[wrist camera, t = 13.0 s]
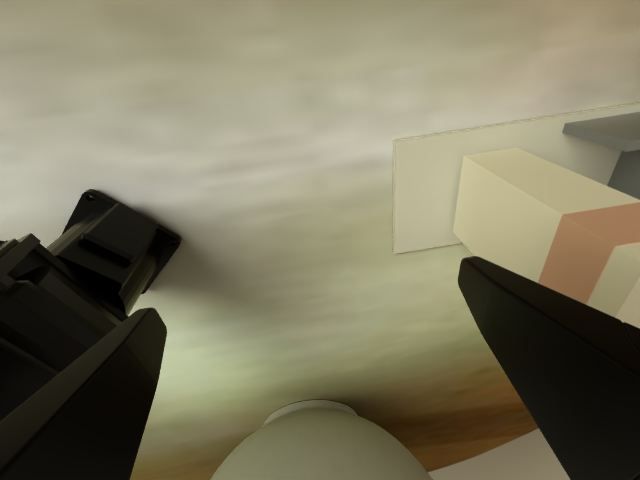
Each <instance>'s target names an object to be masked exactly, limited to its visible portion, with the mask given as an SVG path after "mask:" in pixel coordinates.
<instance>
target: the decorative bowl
mask: <svg viewBox="0 0 640 480" xmlns="http://www.w3.org/2000/svg"><path fill="white" fill-rule="evenodd" d="M210 480H432V478H431V477H430V475H429V474H428V473H427V471H426V470H425V469H424V468H423V466H422V465H421V464H420V463H419V461H418V460H417V459H416V458H415V457H414V456H413V455H412V454H411V453H410V452H409V451H408V450H407V449H406V448H405V447H404V446H403V445H402V444H401V443H400V442H399V441H398V440H397V439H396V438H394V437H393V436H392V435H391V434H389V433H388V432H387V431H385V430H384V429H383V428H381V427H379V426H378V425H376V424H374V423H373V422H371V421H369V420H367V419H364V418H362V417H359V416H357V414H356V412H355V411H354V410H353V409H352V408H350V407H349V406H347V405H345V404H342V403H339V402H335V401H329V400H308V401H302V402H297V403H293V404H290V405H287V406H285V407H283V408H281V409H279V410H277V411H275V412H274V413H272V414H271V415H270V416H269V417H268V418H267V419H266V420H265V422H264V424H263V427H261V428H259V429H258V430H256V431H255V432H253V433H252V434H251V435H249V436H248V437H247V438H246V439H245V440H243V441H242V442H241V443H240V444H239V445H238V446H237V447H236V448H235V449H234V450H233V451H232V452H231V453H230V454H229V455H228V457H227V458H226V459H225V460H224V461H223V463H222V464H221V465H220V466H219V468H218V469H217V470H216V472H215V473H214V475H213V476H212V477H211V479H210Z"/></svg>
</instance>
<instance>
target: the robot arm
mask: <svg viewBox="0 0 640 480" xmlns="http://www.w3.org/2000/svg"><path fill="white" fill-rule="evenodd" d="M90 195H91V196H93V197H94V198H95V200H93V199H92V198H90ZM171 240H175V241H176V242H175V243H174V242H172V241H171ZM40 242H41V241H40V240H39V239H38V238H36V237H35V236H34V235H33V234H31V233H30V234H28V235H26V236H24V237H22V238H21V239H19V240H16V239H12V240H10V241H0V480H130V477H131V473H132V470H133V466H134V463H135V460H136V456H137V453H138V449H139V446H140V443H141V439H142V436H143V432H144V429H145V426H146V422H147V419H148V415H149V412H150V409H151V405H152V402H153V399H154V395H155V392H156V388H157V384H158V379H159V374H160V369H161V363H162V358H163V352H164V347H165V341H166V336H167V329H166V326H165V324H164V322H163V321H162V319H161V317H160V316H159V314H158V312H157V311H156V309H154V308H144V309H139V310H137V311H136V312H134V313H133V314H132V315H131V316H128V315H129V313H130V311H131V310H132V308H133V306H134V304H135V303H136V301H137V299H138V298H139V296H140V294H144V293H145V292H146V291H147V289H148V288H149V287H150V285H151V284H152V283H153V281H154V280H155V278H156V277H157V276H158V274H159V273H160V272H161V270H162V269H163V268H164V266H165V265H166V263H167V262H168V261H169V259H170V258H171V257H172V255H173V254H174V252H175V251H176V250H177V248H178V247H179V245H180V244H181V238H180V236H178V235H177V234H175V233H173V232H171V231H169V230H168V229H166V228H164V227H162V226H160V225H159V224H157V223H156V222H154V221H152V220H150V219H148V218H147V217H145V216H143V215H141V214H139V213H138V212H136V211H134V210H132V209H130V208H128V207H127V206H125V205H123V204H120V203H118V202H117V201H115V200H113V199H111V198H109V197H107V196H106V195H104V194H102V193H100V192H98V191H96V190H94V189H89V190H87V191H86V192H84V193H83V194H82V196H81V198H80V200H79V202H78V204H77V206H76V208H75V209H74V211H73V213H72V215H71V217H70V219H69V221H68V223H67V225H66V227H65V229H64V231H63V233H62V235H61V236H60V237H59V238H58V239H57V240H55V241H54V242H53V243H52V244H51V245H49V246H48V247H47V248H45V247H44V246H42V245H41V244H40ZM458 285H459V288H460V290H461V292H462V294H463V296H464V298H465V300H466V303H467V305H468V307H469V309H470V311H471V313H472V315H473V318H474V320H475V322H476V324H477V326H478V328H479V330H480V332H481V334H482V335H483V337H484V339H485V341H486V342H487V344H488V345H489V347H490V349H491V350H492V352H493V354H494V355H495V357H496V359H497V360H498V362H499V363H500V365H501V367H502V368H503V370H504V372H505V373H506V375H507V377H508V378H509V380H510V381H511V383H512V385H513V386H514V388H515V390H516V391H517V393H518V395H519V396H520V398H521V399H522V401H523V403H524V404H525V406H526V408H527V409H528V411H529V412H530V414H531V416H532V417H533V419H534V421H535V422H536V424H537V426H538V427H539V429H540V430H541V432H542V434H543V435H544V437H545V439H546V440H547V442H548V444H549V445H550V447H551V448H552V450H553V452H554V453H555V455H556V457H557V458H558V460H559V462H560V463H561V465H562V466H563V468H564V470H565V471H566V473H567V475H568V476H569V478H570V480H640V328H637V327H635V326H633V325H631V324H629V323H626V322H623V323H622V321H621V320H619V319H617V318H615V317H613V316H610V315H608V314H606V313H604V312H602V311H599V310H597V309H595V308H593V307H590V306H588V305H586V304H584V303H581V302H579V301H577V300H575V299H573V298H570V297H568V296H566V295H564V294H561V293H559V292H557V291H555V290H552V289H550V288H548V287H546V286H543V285H541V284H539V283H537V282H535V281H532V280H530V279H528V278H526V277H523V276H521V275H519V274H517V273H514V272H512V271H510V270H508V269H506V268H503V267H501V266H499V265H497V264H494V263H492V262H490V261H488V260H485V259H483V258H481V257H478V256H472V257H466V258H463V259H462V260H461V264H460V270H459V276H458Z"/></svg>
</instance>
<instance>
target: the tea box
mask: <svg viewBox="0 0 640 480" xmlns="http://www.w3.org/2000/svg"><path fill="white" fill-rule="evenodd" d="M453 233H454V234H455V235H456V236H457V237H458V238H459V239H460V241H461V242H462V243H463V244H464V245H465V246H466V247H467V248H468V249H469V250H470V251H471V253H472V254H473V255H474V256H478V257H481V258H483V259H485V260H488V261H490V262H492V263H494V264H497V265H499V266H501V267H503V268H506V269H508V270H510V271H512V272H514V273H517V274H519V275H521V276H523V277H526V278H528V279H530V280H532V281H535V282H537V283H539V284H541V285H543V286H546V287H548V288H550V289H552V290H555V291H557V292H559V293H561V294H564V295H566V296H568V297H570V298H573V299H575V300H577V301H579V302H581V303H584V304H586V305H588V306H590V307H593V308H595V309H597V310H599V311H602V312H604V313H606V314H608V315H610V316H613V317H615V318H617V319H619V320H621V321H622V323H623V322H626V323H629V324H631V325H633V326H635V327H637V328H640V200H639V199H637V198H634V197H632V196H629V195H627V194H625V193H622V192H620V191H618V190H615V189H613V188H611V187H608V186H606V185H603V184H601V183H599V182H596V181H594V180H592V179H589V178H587V177H585V176H582V175H580V174H577V173H575V172H573V171H570V170H568V169H566V168H563V167H561V166H558V165H556V164H554V163H551V162H549V161H547V160H544V159H542V158H540V157H537V156H535V155H532V154H530V153H528V152H525V151H523V150H521V149H518V148H511V149H505V150H498V151H492V152H486V153H479V154H473V155H466V156H463V163H462V170H461V177H460V184H459V191H458V199H457V206H456V213H455V220H454V227H453Z"/></svg>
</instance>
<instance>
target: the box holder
mask: <svg viewBox="0 0 640 480" xmlns="http://www.w3.org/2000/svg"><path fill="white" fill-rule="evenodd" d="M511 148H518V149H521V150H523V151H525V152H528V153H530V154H532V155H535V156H537V157H540V158H542V159H544V160H547V161H549V162H551V163H554V164H556V165H558V166H561V167H563V168H566V169H568V170H570V171H573V172H575V173H577V174H580V175H582V176H585V177H587V178H589V179H592V180H594V181H596V182H599V183H601V184H603V185H606V186H608V187H611V188H613V189H615V190H618V191H620V192H622V193H625V194H627V195H629V196H632V197H634V198H637V199H639V200H640V102H639V103H632V104H626V105H619V106H613V107H606V108H600V109H593V110H587V111H580V112H574V113H567V114H561V115H554V116H548V117H541V118H535V119H528V120H522V121H515V122H509V123H502V124H496V125H489V126H483V127H476V128H470V129H463V130H457V131H450V132H444V133H437V134H431V135H425V136H418V137H412V138H405V139H399V140H393V240H392V251H393V253H394V254H397V253H403V252H409V251H416V250H422V249H428V248H435V247H441V246H447V245H453V244H460V243H462V242H461V241H460V239H459V238H458V237H457V236H456V235H455V234H454V233H453V227H454V220H455V213H456V206H457V199H458V191H459V184H460V177H461V170H462V163H463V156H466V155H473V154H479V153H486V152H492V151H498V150H505V149H511Z"/></svg>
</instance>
